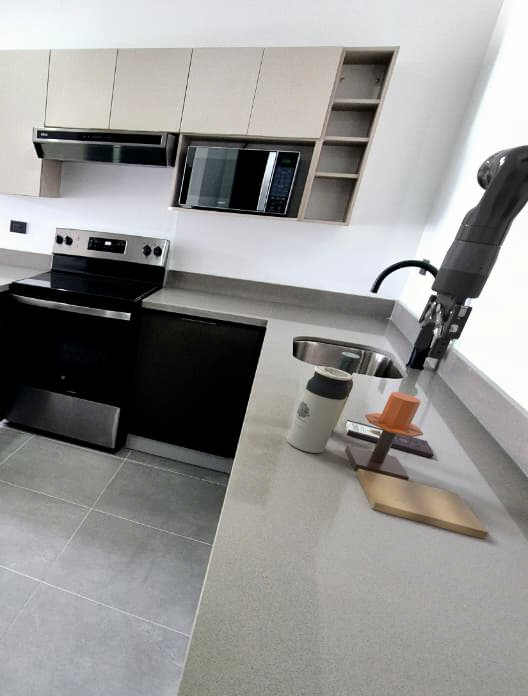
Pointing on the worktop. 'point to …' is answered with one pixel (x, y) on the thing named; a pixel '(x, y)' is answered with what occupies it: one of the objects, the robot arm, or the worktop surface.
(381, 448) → the hat stand
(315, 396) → the travel mug
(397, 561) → the worktop surface
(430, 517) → the oak board
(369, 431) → the chocolate bar
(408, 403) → the hat
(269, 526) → the worktop surface
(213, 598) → the worktop surface
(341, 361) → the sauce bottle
